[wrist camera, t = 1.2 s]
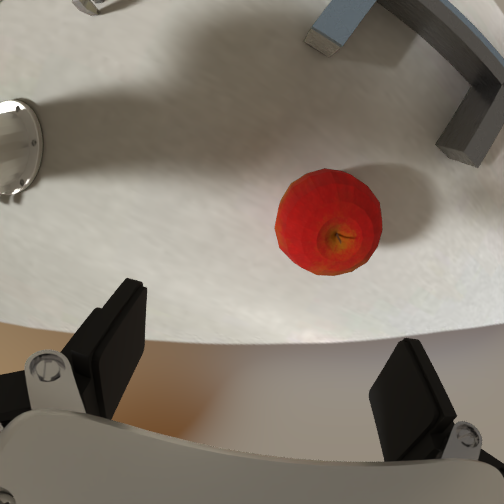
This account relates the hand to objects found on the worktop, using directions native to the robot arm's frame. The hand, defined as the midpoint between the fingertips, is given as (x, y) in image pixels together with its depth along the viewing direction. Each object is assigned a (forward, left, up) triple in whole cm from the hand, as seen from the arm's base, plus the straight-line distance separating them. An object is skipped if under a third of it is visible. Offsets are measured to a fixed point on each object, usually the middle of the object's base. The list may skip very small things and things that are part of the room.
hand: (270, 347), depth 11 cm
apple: (+2, -5, -25) cm, 25 cm away
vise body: (+23, -4, -25) cm, 34 cm away
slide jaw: (+20, +4, -24) cm, 31 cm away
